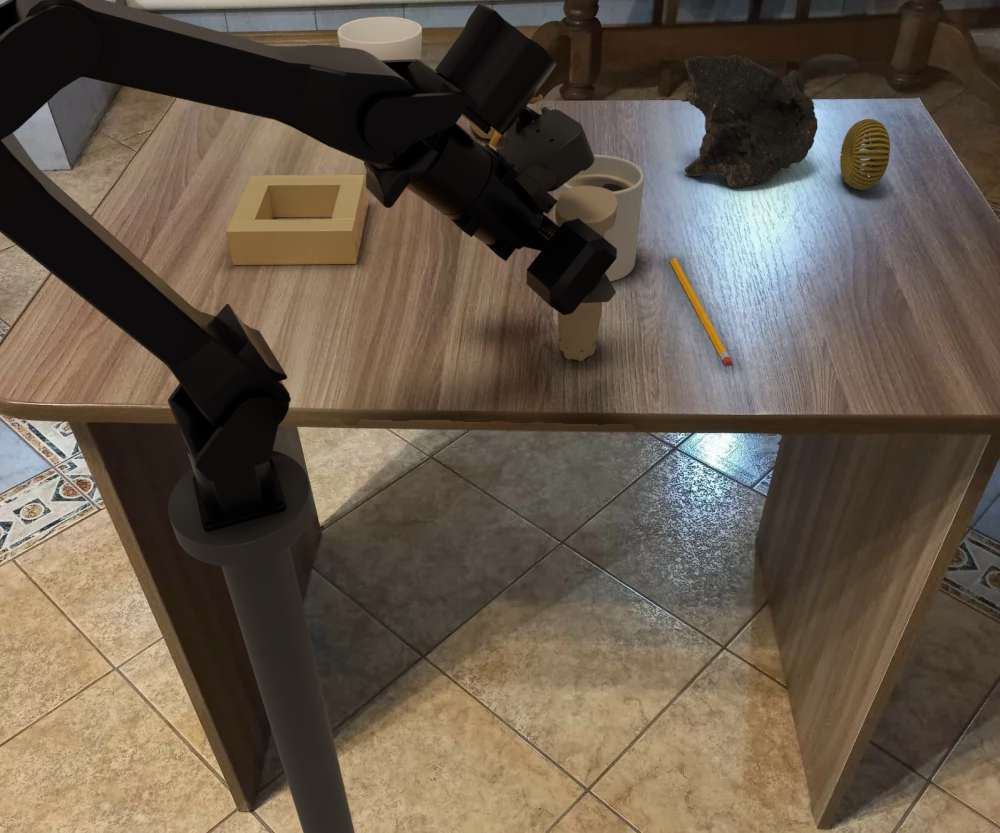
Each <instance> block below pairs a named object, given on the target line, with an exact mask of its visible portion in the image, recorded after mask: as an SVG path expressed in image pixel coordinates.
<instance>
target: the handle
mask: <svg viewBox="0 0 1000 833" xmlns="http://www.w3.org/2000/svg"><path fill="white" fill-rule="evenodd" d="M616 215H617V199H616V197H615V195H614V194H613V192H612V191H610V190H608V189H605V188H601V187H595V186H576V187H572V188H571V189H569V190H567V191H566V192H564V193H563V194H561V195H560V197H559V199H558V202H557V203H556V211H555V218H556V222H557V225H558V226H559V227H560V226H561V225H562V224H563V222H566V221H570V220H574V219H577V218H579V219H580V220H581V221H583V222H584V223H585V224H587V225H588V226H589V227H590V228H592V229H593V230H594V231H596V232H597V233H598V234H599V235H601V236H602V237H603V238H604V234H605V232H606V231H608V230H609V229H611V228H612V227H613V226H614V223H615V219H616ZM602 310H603V302H597V303H580V305H579V306H578V307H577V308H576V310H575V311H574V312H573V313H571V314H567V315H563V314H561V313H560V312H558V311H557V329H558V336H559V338H558V345H559V350H560V351H561V352H562V353H563V356H564V358H565V359H567V360H576V361H578V362H583V361H585V359H587V358H588V357H591V356H593V355H594V353H595V351H596V347H597V337H598V335H599V330H600V324H601V318H602Z"/></svg>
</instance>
